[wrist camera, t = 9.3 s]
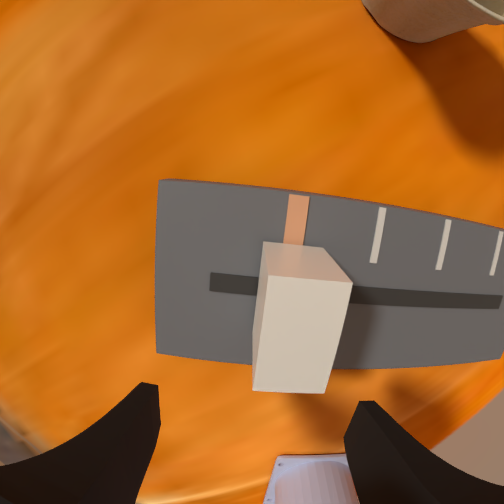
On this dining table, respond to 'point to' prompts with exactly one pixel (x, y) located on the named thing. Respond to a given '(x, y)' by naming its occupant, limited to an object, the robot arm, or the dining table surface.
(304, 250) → the fader
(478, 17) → the flower pot
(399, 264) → the console
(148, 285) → the dining table surface
